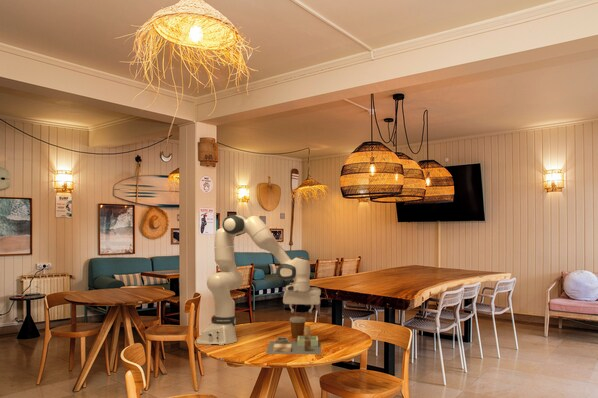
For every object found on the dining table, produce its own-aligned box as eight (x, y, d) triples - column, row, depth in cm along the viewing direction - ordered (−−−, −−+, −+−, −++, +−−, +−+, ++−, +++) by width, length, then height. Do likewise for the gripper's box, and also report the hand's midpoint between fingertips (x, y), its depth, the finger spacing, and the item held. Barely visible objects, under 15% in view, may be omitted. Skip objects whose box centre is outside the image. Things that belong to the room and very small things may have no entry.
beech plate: (273, 351, 235) (273, 347, 235) (274, 348, 242) (274, 343, 242) (290, 352, 234) (290, 347, 235) (291, 348, 241) (291, 343, 242)
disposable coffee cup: (304, 341, 261) (304, 319, 262) (287, 340, 263) (287, 318, 264) (307, 337, 270) (307, 316, 271) (291, 336, 272) (291, 315, 273)
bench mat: (265, 355, 231) (265, 353, 231) (270, 342, 257) (270, 341, 257) (321, 355, 231) (321, 354, 231) (320, 343, 257) (320, 341, 257)
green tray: (297, 346, 245) (297, 340, 245) (297, 342, 255) (297, 335, 255) (318, 347, 245) (318, 340, 245) (317, 342, 255) (317, 335, 255)
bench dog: (304, 351, 236) (304, 341, 237) (304, 349, 239) (304, 339, 240) (310, 351, 236) (310, 341, 236) (310, 349, 239) (310, 339, 240)
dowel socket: (275, 345, 247) (275, 340, 247) (276, 342, 253) (276, 337, 254) (287, 345, 247) (287, 340, 247) (288, 343, 253) (288, 337, 253)
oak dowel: (304, 344, 248) (304, 327, 249) (304, 342, 251) (304, 326, 252) (310, 344, 248) (310, 327, 249) (310, 342, 251) (310, 326, 252)
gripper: (320, 286, 253) (320, 312, 253) (283, 285, 254) (283, 311, 253) (321, 288, 247) (320, 314, 246) (283, 287, 247) (282, 313, 246)
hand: (301, 312), depth 249 cm, fingers open, 8 cm apart
